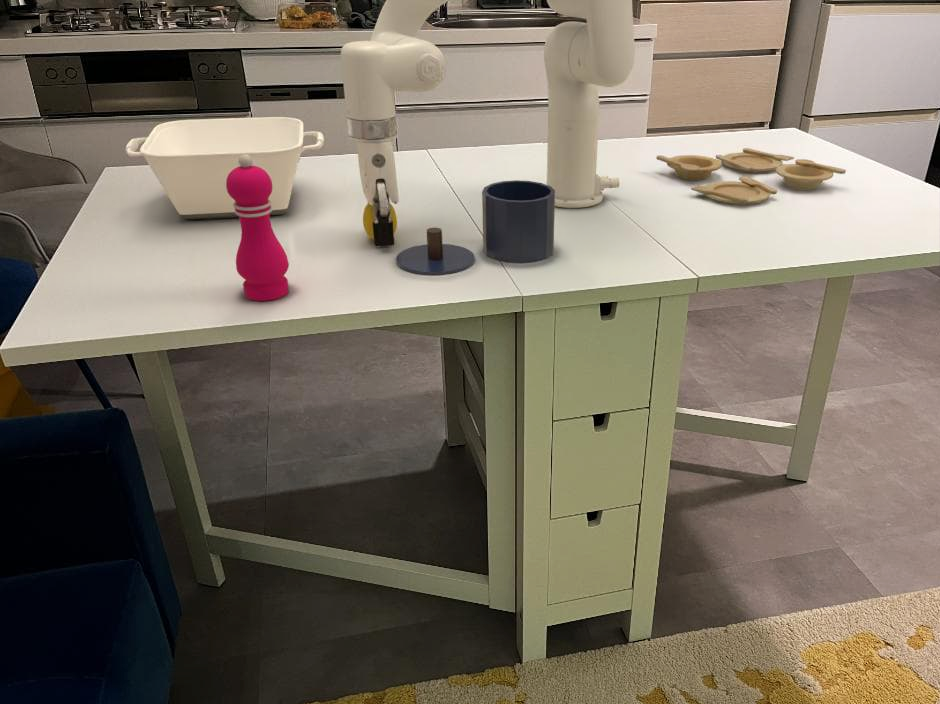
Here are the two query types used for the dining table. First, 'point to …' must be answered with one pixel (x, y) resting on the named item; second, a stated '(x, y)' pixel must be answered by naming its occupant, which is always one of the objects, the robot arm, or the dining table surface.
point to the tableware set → (749, 189)
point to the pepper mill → (257, 234)
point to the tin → (518, 221)
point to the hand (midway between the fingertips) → (381, 237)
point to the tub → (222, 160)
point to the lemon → (369, 218)
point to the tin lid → (435, 256)
